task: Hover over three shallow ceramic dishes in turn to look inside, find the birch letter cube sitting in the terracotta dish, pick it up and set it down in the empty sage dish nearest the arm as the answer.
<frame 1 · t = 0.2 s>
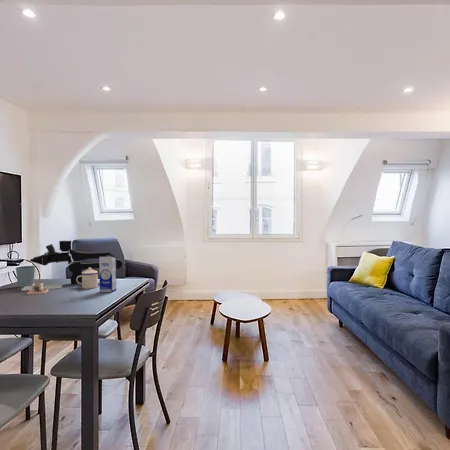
hand: (31, 259, 208), 16 cm above the table, tool horizontal, fingers open, 9 cm apart
dish B: (32, 289, 198), on the table
dish A: (53, 288, 202), on the table
teal patterned cup: (25, 286, 208), on the table
milk carton: (108, 291, 192), on the table
dish C: (37, 293, 188), on the table
teacup with lid: (87, 287, 204), on the table
letter cube: (37, 292, 188), point 1 cm above the table, touching dish C
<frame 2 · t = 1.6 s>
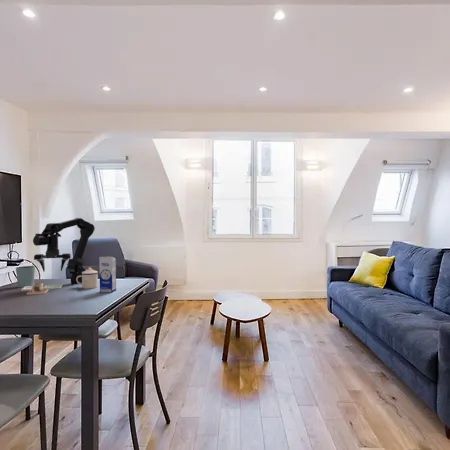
hand: (52, 271, 202), 10 cm above the table, tool pointing down, fingers open, 9 cm apart
nothing on the table moved.
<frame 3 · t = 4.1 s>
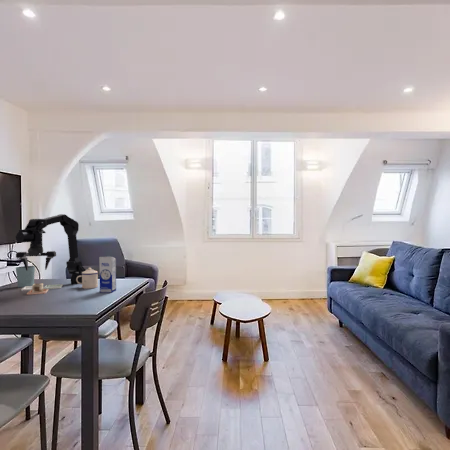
hand: (36, 270, 188), 13 cm above the table, tool pointing down, fingers open, 9 cm apart
nothing on the table moved.
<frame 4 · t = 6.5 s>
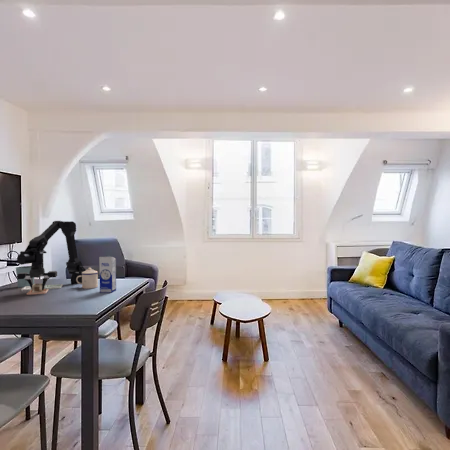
hand: (37, 290, 188), 2 cm above the table, tool pointing down, fingers closed on letter cube, 4 cm apart
letter cube: (37, 292, 188), point 1 cm above the table, touching dish C, gripper
everything else where it was.
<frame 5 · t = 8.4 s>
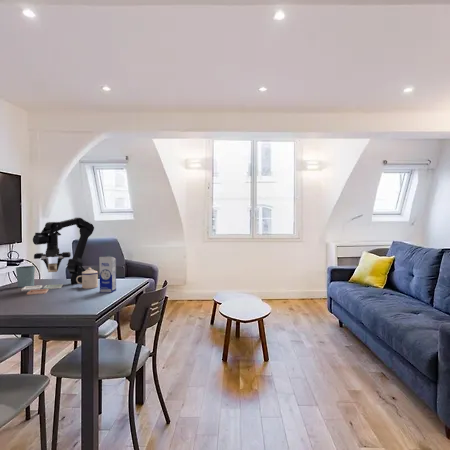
hand: (53, 270, 202), 11 cm above the table, tool pointing down, fingers closed on letter cube, 4 cm apart
letter cube: (53, 271, 202), point 10 cm above the table, touching gripper
everything else where it was.
when the fingers open (3 cm above the table, at t = 10.2 s): letter cube drops 2 cm, resting on dish A.
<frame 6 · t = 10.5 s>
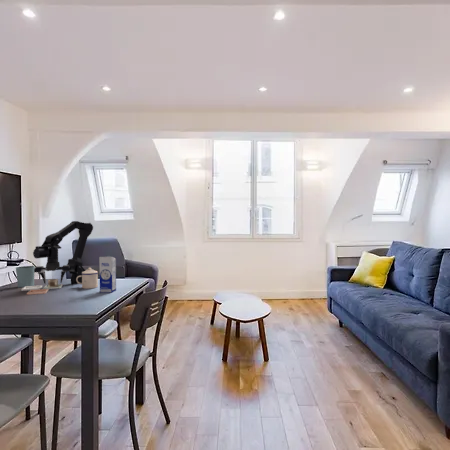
hand: (53, 283, 202), 3 cm above the table, tool pointing down, fingers open, 8 cm apart
letter cube: (53, 287, 202), point 1 cm above the table, touching dish A
everything else where it was.
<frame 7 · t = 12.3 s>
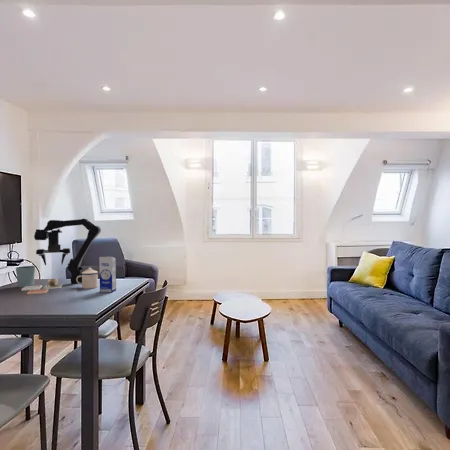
hand: (53, 265, 215), 12 cm above the table, tool pointing down, fingers open, 9 cm apart
nothing on the table moved.
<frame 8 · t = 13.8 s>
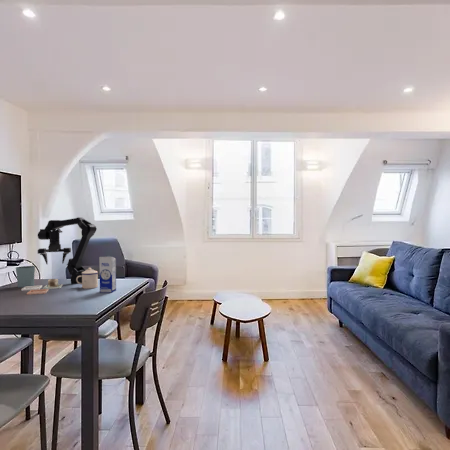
hand: (54, 264, 220), 12 cm above the table, tool pointing down, fingers open, 9 cm apart
nothing on the table moved.
at the end: letter cube inside the target area on the dish A (0.0 cm from its centre), point 0.6 cm above the dish A's base; the gripper is holding nothing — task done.
